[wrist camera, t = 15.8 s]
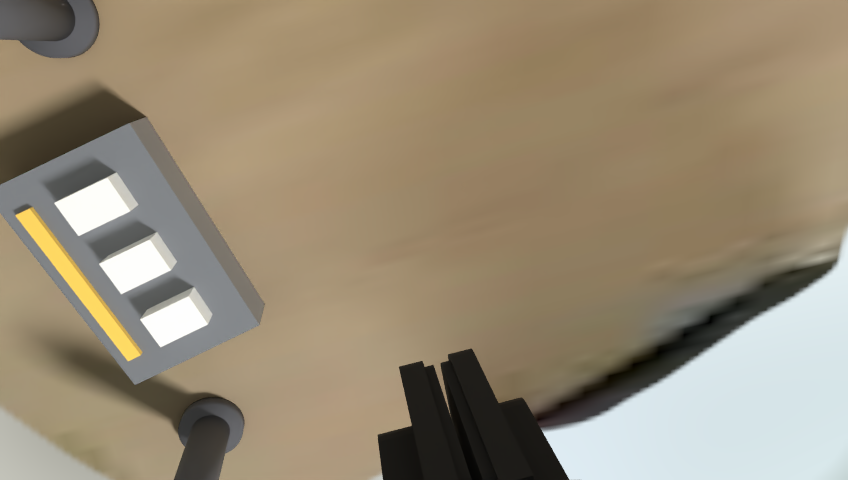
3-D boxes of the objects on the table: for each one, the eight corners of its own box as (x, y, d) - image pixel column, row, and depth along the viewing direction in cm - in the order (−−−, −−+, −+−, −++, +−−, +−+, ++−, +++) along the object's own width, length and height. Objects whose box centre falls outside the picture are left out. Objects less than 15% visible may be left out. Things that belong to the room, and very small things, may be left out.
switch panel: (17, 178, 38) (-32, 198, 33) (148, 116, 38) (120, 126, 33) (151, 356, 44) (127, 397, 39) (265, 301, 44) (256, 335, 39)
